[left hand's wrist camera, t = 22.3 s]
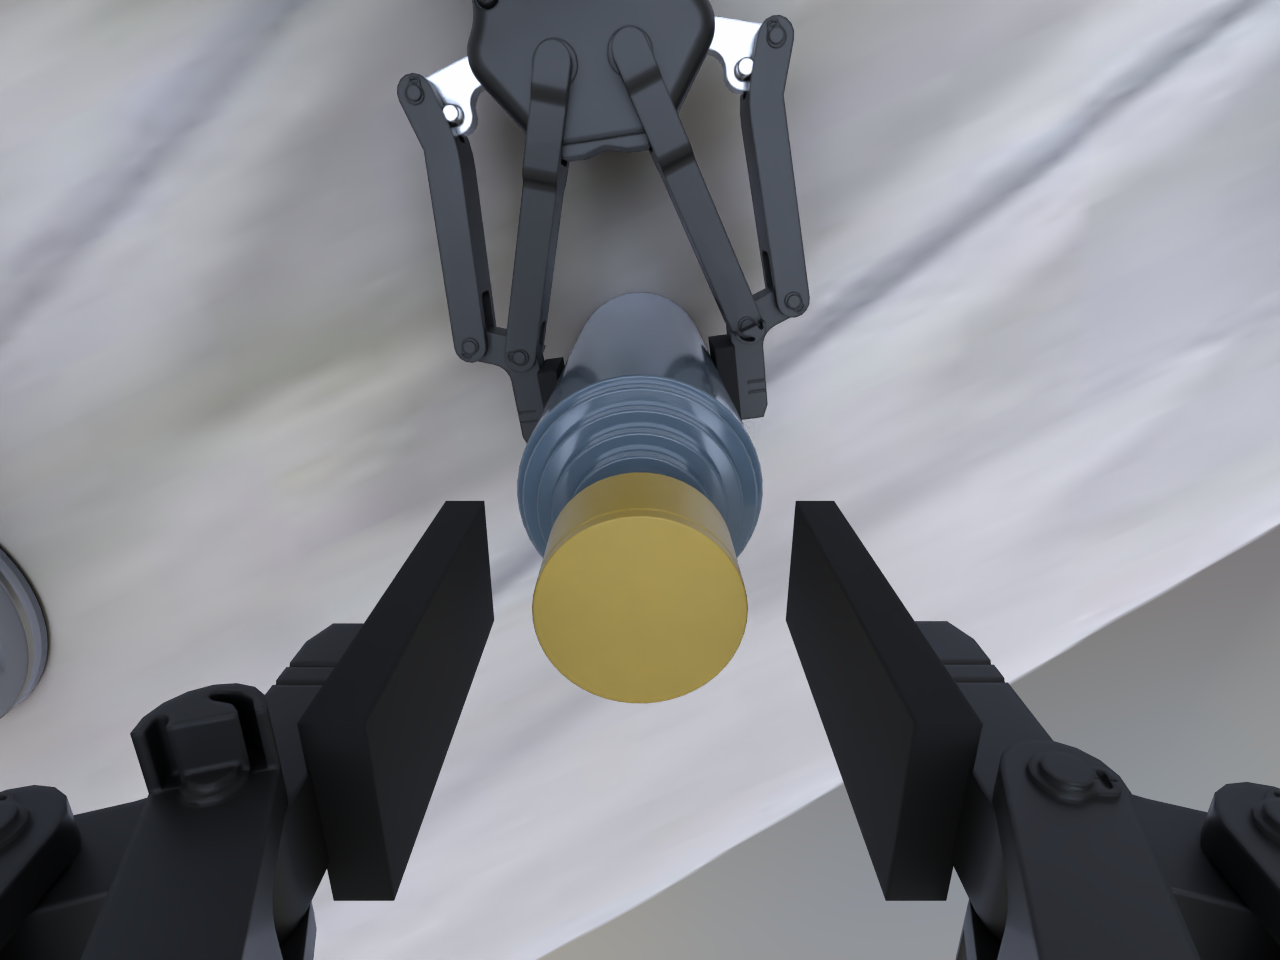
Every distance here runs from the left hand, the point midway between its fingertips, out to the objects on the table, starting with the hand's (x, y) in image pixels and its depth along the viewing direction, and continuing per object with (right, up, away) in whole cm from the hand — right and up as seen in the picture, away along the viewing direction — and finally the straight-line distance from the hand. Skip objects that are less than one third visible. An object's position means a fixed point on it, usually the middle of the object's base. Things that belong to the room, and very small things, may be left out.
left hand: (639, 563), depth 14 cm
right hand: (+1, +1, +16) cm, 16 cm away
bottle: (0, +8, +20) cm, 22 cm away
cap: (0, -1, -2) cm, 2 cm away
